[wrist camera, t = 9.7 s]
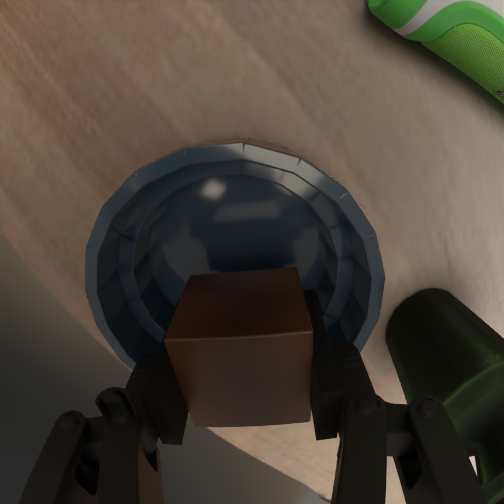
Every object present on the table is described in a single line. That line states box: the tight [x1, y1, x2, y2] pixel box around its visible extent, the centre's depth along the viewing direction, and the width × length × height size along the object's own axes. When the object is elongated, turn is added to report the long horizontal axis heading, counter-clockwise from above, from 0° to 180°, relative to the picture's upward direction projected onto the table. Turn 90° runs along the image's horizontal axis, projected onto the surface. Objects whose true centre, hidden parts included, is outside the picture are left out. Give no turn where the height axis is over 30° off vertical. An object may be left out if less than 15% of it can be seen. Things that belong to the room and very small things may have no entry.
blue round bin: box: [85, 138, 385, 370], centre depth 17 cm, size 14×14×6 cm
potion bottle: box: [386, 289, 504, 504], centre depth 13 cm, size 8×8×18 cm
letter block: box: [164, 267, 314, 427], centre depth 13 cm, size 5×5×5 cm
